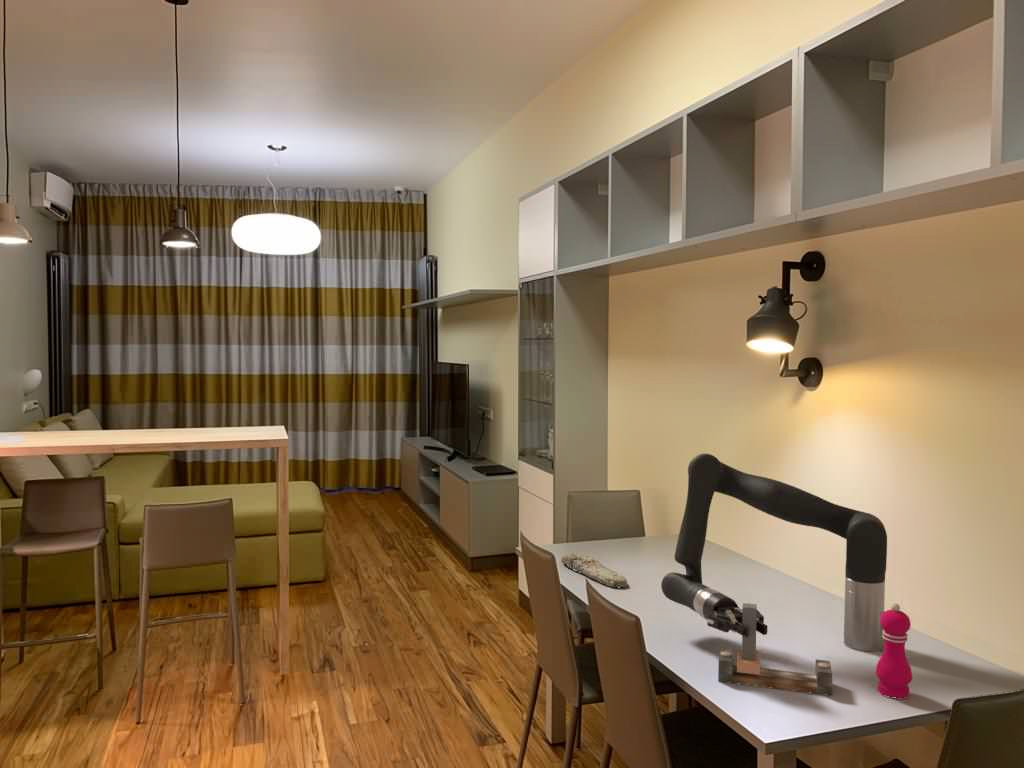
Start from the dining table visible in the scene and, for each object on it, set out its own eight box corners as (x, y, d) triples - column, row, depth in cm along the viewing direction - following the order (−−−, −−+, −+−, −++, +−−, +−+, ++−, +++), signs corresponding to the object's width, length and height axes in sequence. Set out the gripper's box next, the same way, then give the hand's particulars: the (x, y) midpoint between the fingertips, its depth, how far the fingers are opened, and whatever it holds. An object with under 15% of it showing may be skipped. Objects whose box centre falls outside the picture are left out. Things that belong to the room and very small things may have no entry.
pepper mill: (880, 683, 180) (882, 596, 179) (915, 692, 175) (917, 602, 174) (871, 694, 174) (873, 604, 173) (907, 703, 170) (909, 611, 169)
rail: (829, 682, 180) (829, 659, 180) (831, 695, 173) (832, 671, 173) (719, 669, 187) (720, 647, 187) (718, 681, 181) (718, 658, 180)
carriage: (760, 663, 184) (761, 602, 183) (760, 674, 178) (761, 611, 177) (737, 661, 186) (738, 600, 185) (736, 671, 180) (737, 609, 179)
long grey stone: (608, 595, 246) (635, 593, 251) (610, 579, 246) (636, 576, 251) (552, 561, 277) (577, 559, 282) (553, 547, 277) (578, 545, 282)
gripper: (689, 595, 193) (729, 618, 176) (740, 589, 197) (784, 612, 181) (689, 625, 193) (728, 651, 177) (740, 619, 197) (783, 644, 181)
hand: (756, 631), depth 179 cm, fingers closed on carriage, 4 cm apart
